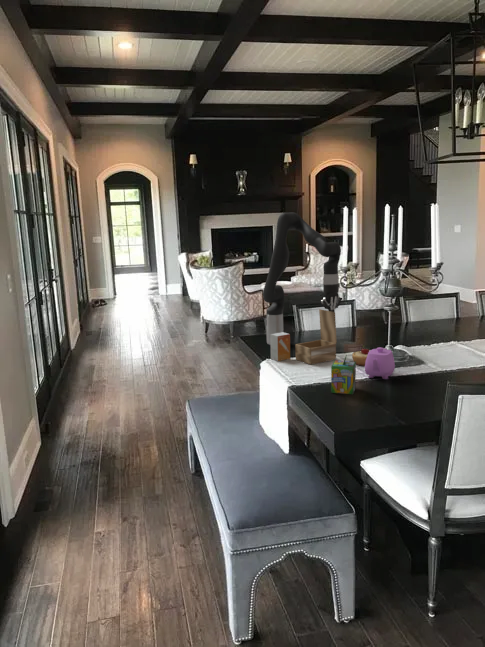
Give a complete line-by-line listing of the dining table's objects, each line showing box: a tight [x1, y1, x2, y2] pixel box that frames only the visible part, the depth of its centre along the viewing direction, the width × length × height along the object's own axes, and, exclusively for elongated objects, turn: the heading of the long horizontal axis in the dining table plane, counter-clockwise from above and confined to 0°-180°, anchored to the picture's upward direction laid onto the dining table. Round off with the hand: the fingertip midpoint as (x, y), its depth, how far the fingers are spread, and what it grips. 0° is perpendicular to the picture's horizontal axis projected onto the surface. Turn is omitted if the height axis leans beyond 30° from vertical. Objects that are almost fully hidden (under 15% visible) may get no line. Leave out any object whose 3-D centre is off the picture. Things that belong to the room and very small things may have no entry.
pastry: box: [351, 345, 371, 367], centre depth 253 cm, size 12×12×9 cm
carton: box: [294, 339, 337, 365], centre depth 263 cm, size 12×16×8 cm
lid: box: [318, 308, 338, 344], centre depth 265 cm, size 12×16×1 cm
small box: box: [269, 331, 291, 362], centre depth 267 cm, size 8×6×13 cm
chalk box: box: [330, 354, 357, 395], centre depth 214 cm, size 9×9×15 cm
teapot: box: [364, 346, 396, 380], centre depth 232 cm, size 20×12×13 cm, turn 153°
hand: (331, 317), depth 265 cm, fingers closed
